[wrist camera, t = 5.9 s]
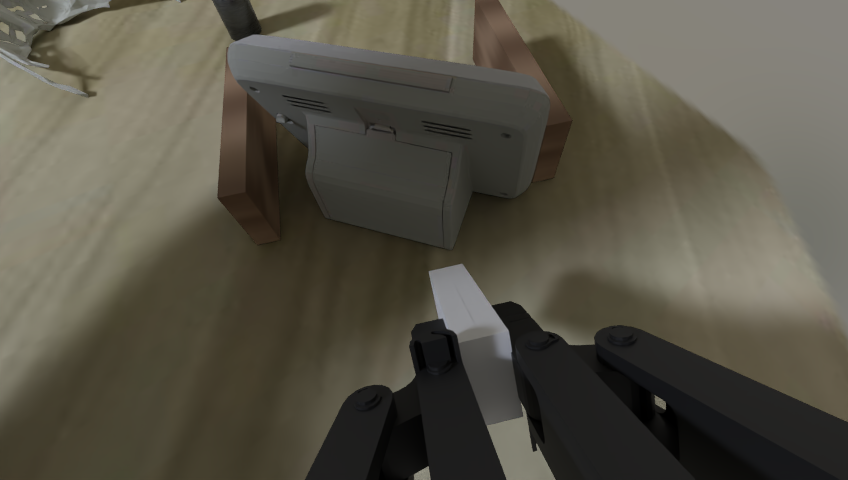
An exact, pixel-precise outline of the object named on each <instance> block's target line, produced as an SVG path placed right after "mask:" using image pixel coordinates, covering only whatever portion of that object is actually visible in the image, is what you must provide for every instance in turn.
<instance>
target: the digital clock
mask: <svg viewBox="0 0 848 480" xmlns="http://www.w3.org/2000/svg"><path fill="white" fill-rule="evenodd" d="M227 57H228V64H229V67H230V70H231V73H232V75H233V77H234V79H235V80H236V81H237V83H238V84H239V85H240V86H241V87H242V88H243V89H244V90H245V91H246V92H247V93H248V94H249V95H250V96H251V97H252V98H254V99H255V100H256V101H257V102H258V103H259V104H260V105H261V106H262V107H263V108H264V109H265V110H267V111H268V112H269V113H270V114H271V115H272V116H273V117H274V118H275V119H276V122H277V123H281V124H282V125H283V126H284V127H285V128H286V129H287V130H288V131H289V132H291V133H292V134H293V135H294V136H295V137H296V138H297V139H298V140H299V141H300V142H301V143H303V144H304V145H305V146H306V147H307V148H308V149H309V151H308V160H307V164H306V169H305V175H306V179H307V182H308V185H309V187H310V189H311V191H312V193H313V195H314V197H315V199H316V201H317V203H318V205H319V207H320V209H321V211H322V213H323V215H324V217H325V218H328V219H332V220H336V221H340V222H344V223H348V224H352V225H355V226H359V227H363V228H367V229H371V230H375V231H379V232H383V233H387V234H391V235H394V236H398V237H402V238H406V239H410V240H414V241H418V242H422V243H426V244H430V245H433V246H437V247H441V248H445V249H449V250H452V249H453V247H454V244H455V241H456V238H457V236H458V233H459V230H460V227H461V224H462V221H463V218H464V215H465V212H466V209H467V206H468V203H469V200H470V198H471V195H472V192H473V191H474V192H479V193H484V194H488V195H493V196H498V197H503V198H515V197H517V196H519V195H520V194H522V193H523V192H524V191H525V190H527V188H528V187H529V185H530V183H531V181H532V178H533V175H534V171H535V167H536V163H537V160H538V156H539V152H540V148H541V144H542V140H543V136H544V132H545V128H546V125H547V121H548V116H549V111H550V99H549V96H548V95H547V93H546V92H545V90H544V89H543V87H542V86H541V85H540V83H539V82H538V81H537V80H536V78H534V77H532V76H529V75H526V74H522V73H517V72H511V71H505V70H499V69H493V68H487V67H480V66H474V65H467V64H460V63H453V62H447V61H440V60H433V59H426V58H419V57H412V56H406V55H399V54H392V53H385V52H378V51H371V50H365V49H358V48H351V47H344V46H337V45H331V44H324V43H317V42H310V41H303V40H296V39H289V38H282V37H274V36H266V35H251V36H248V37H246V38H243V39H241V40H238V41H236V42H233V43H231V44H230V47H229V48H228V52H227Z"/></svg>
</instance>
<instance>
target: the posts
mask: <svg viewBox="0 0 848 480" xmlns="http://www.w3.org/2000/svg"><path fill="white" fill-rule="evenodd" d="M212 1H213V3H214V5H215V7H216V9H217V11H218V13H219V15H220V17H221V19H222V21H223V23H224V25H225V26H226V28H227V30H228V32H229V34H230V36H231V38H232V39H233V40H235V41H238V40H241V39H243V38H246V37H248V36H251V35H259V34H260V32H261V26H260V24H259V21H258V19H257V17H256V14H255V12H254V10H253V7H252V5H251V3H250V1H249V0H212Z"/></svg>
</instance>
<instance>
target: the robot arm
mask: <svg viewBox="0 0 848 480" xmlns="http://www.w3.org/2000/svg"><path fill="white" fill-rule="evenodd" d="M429 276H430V281H431V285H432V290H433V295H434V299H435V304H436V309H437V313H438V318H439V319H437V320H433V321H429V322H424V323H420V324H416V325H415V327H414V328H413V330H412V332H411V334H412V340H411V341H410V345H409V348H410V352H411V356H412V360H413V365H414V369H415V373H416V376H415V378H414V379H413V380H412V382H411V383H410V384H408V385H407V386H406V387H404V388H402V389H401V390H399V391H397V392H394V393H393V392H392V391H391V390H390V388H388V387H386V386H383V385H372V386H366V387H363V388H361V389H359V390H357V391H355V392H354V393H353V394H351V395H350V396H348V398H347V399H346V400H345V402H344V403H343V405H342V407H341V409H340V411H339V413H338V415H337V417H336V419H335V421H334V423H333V425H332V427H331V429H330V431H329V433H328V435H327V437H326V439H325V441H324V443H323V445H322V447H321V449H320V451H319V453H318V455H317V457H316V459H315V461H314V463H313V465H312V467H311V469H310V471H309V473H308V475H307V477H306V479H305V480H414V474H415V473H417V472H419V471H420V470H422V469H424V468H426V467H428V466H429V470H430V477H431V480H506V477H505V474H504V472H503V469H502V466H501V464H500V461H499V458H498V456H497V453H496V450H495V448H494V445H493V442H492V440H491V437H490V434H489V432H488V429H487V425H491V424H495V423H499V422H503V421H507V420H511V419H515V418H519V417H523V413H522V407H521V403H522V404H523V406H524V408H525V410H526V413H527V419H528V425H529V432H530V438H531V444H532V449H533V452H534V451H537V447H536V443H537V444H538V446H539V448H540V450H541V452H542V454H543V456H544V458H545V460H546V462H547V464H548V466H549V467H550V469H551V471H552V473H553V475H554V477H555V479H556V480H848V422H846V421H844V420H841V419H839V418H837V417H835V416H832V415H830V414H828V413H826V412H824V411H821V410H819V409H817V408H815V407H812V406H810V405H808V404H806V403H803V402H801V401H799V400H797V399H795V398H792V397H790V396H788V395H786V394H783V393H781V392H779V391H777V390H774V389H772V388H770V387H768V386H765V385H763V384H761V383H759V382H757V381H754V380H752V379H750V378H748V377H745V376H743V375H741V374H739V373H736V372H734V371H732V370H730V369H728V368H725V367H723V366H721V365H719V364H716V363H714V362H712V361H710V360H707V359H705V358H703V357H701V356H698V355H696V354H694V353H692V352H690V351H687V350H685V349H683V348H681V347H678V346H676V345H674V344H672V343H669V342H667V341H665V340H663V339H660V338H658V337H656V336H654V335H652V334H649V333H647V332H645V331H643V330H640V329H637V328H634V327H628V326H623V325H617V326H610V327H607V328H603V329H601V330H600V331H598V332H597V333H596V335H595V336H594V339H595V345H568V343H567V342H566V341H565V340H564V339H563V338H562V337H560V336H559V335H557V334H555V333H552V332H547V331H543V330H542V329H541V328H540V326H539V325H538V324H537V323H536V322H535V321H534V320H533V319H532V318H531V316H530V315H529V314H528V313H527V312H526V311H525V309H524V308H523V307H522V306H521V305H519V304H516V303H514V302H511V301H510V302H505V303H501V304H497V305H492V306H491V304H490V303H489V302H488V300H487V299H486V297H485V296H484V294H483V293H482V291H481V290H480V289H479V287H478V286H477V284H476V283H475V281H474V280H473V278H472V277H471V275H470V274H469V273H468V271H467V270H466V268H465V267H464V265H463V264H458V265H454V266H450V267H445V268H441V269H436V270H432V271H429ZM655 395H656V396H658V397H659V398H661V399H663V400H664V401H665V402H666V410H665V409H662V408H661V407H659V406H657V405H656V404H655Z"/></svg>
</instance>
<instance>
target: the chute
mask: <svg viewBox="0 0 848 480" xmlns="http://www.w3.org/2000/svg"><path fill="white" fill-rule="evenodd" d="M228 48H229V47H227V51H226V67H225V84H224V100H223V116H222V132H221V148H220V165H219V181H218V197H217V198H218V199H219V200H220V202H221V203H222V204H223V205H224V206H225V207H226V209H227V210H228V211H229V212H230V213H231V214H232V216H233V217H234V218H235V219H236V220H237V221H238V223H239V224H240V225H241V226H242V227H243V229H244V230H245V231H246V232H247V233H248V234H249V236H250V237H251V238H252V239H253V240H254V241H255V243H256V244H257V245H259V244H264V243H268V242H273V241H277V240H281V236H280V212H279V189H278V165H277V141H276V119H275V118H274V117H273V116H272V115H271V114H270V113H269V112H268V111H267V110H265V109H264V108H263V107H262V106H261V105H260V104H259V103H258V102H257V101H256V100H255V99H254V98H252V97H251V96H250V95H249V94H248V93H247V92H246V91H245V90H244V89H243V88H242V87H241V86H240V85H239V84H238V83H237V81H236V80H235V79H234V77H233V75H232V73H231V70H230V67H229V64H228V57H227V52H228ZM473 60H474V62H475V65H476V66H480V67H487V68H493V69H499V70H505V71H511V72H517V73H522V74H526V75H529V76H532V77H534V78H536V80H537V81H538V82H539V83H540V85H541V86H542V87H543V89H544V90H545V92H546V93H547V95H548V96H549V99H550V111H549V116H548V121H547V125H546V128H545V132H544V136H543V140H542V144H541V148H540V152H539V156H538V160H537V163H536V167H535V171H534V175H533V178H532V183H533V182H537V181H542V180H546V179H550V178H554V176H555V173H556V169H557V166H558V163H559V160H560V157H561V154H562V151H563V148H564V145H565V142H566V139H567V136H568V133H569V130H570V126H571V123H572V119H571V117H570V115H569V114H568V112H567V111H566V109H565V107H564V106H563V104H562V102H561V101H560V99H559V98H558V96H557V94H556V93H555V91H554V90H553V88H552V86H551V85H550V83H549V81H548V80H547V78H546V77H545V75H544V73H543V72H542V70H541V69H540V67H539V65H538V64H537V62H536V60H535V59H534V57H533V56H532V54H531V52H530V51H529V49H528V48H527V46H526V44H525V43H524V41H523V39H522V38H521V36H520V35H519V33H518V31H517V30H516V28H515V26H514V25H513V23H512V22H511V20H510V18H509V17H508V15H507V14H506V12H505V10H504V9H503V7H502V5H501V4H500V2H499V1H498V0H475V18H474V43H473Z"/></svg>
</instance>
